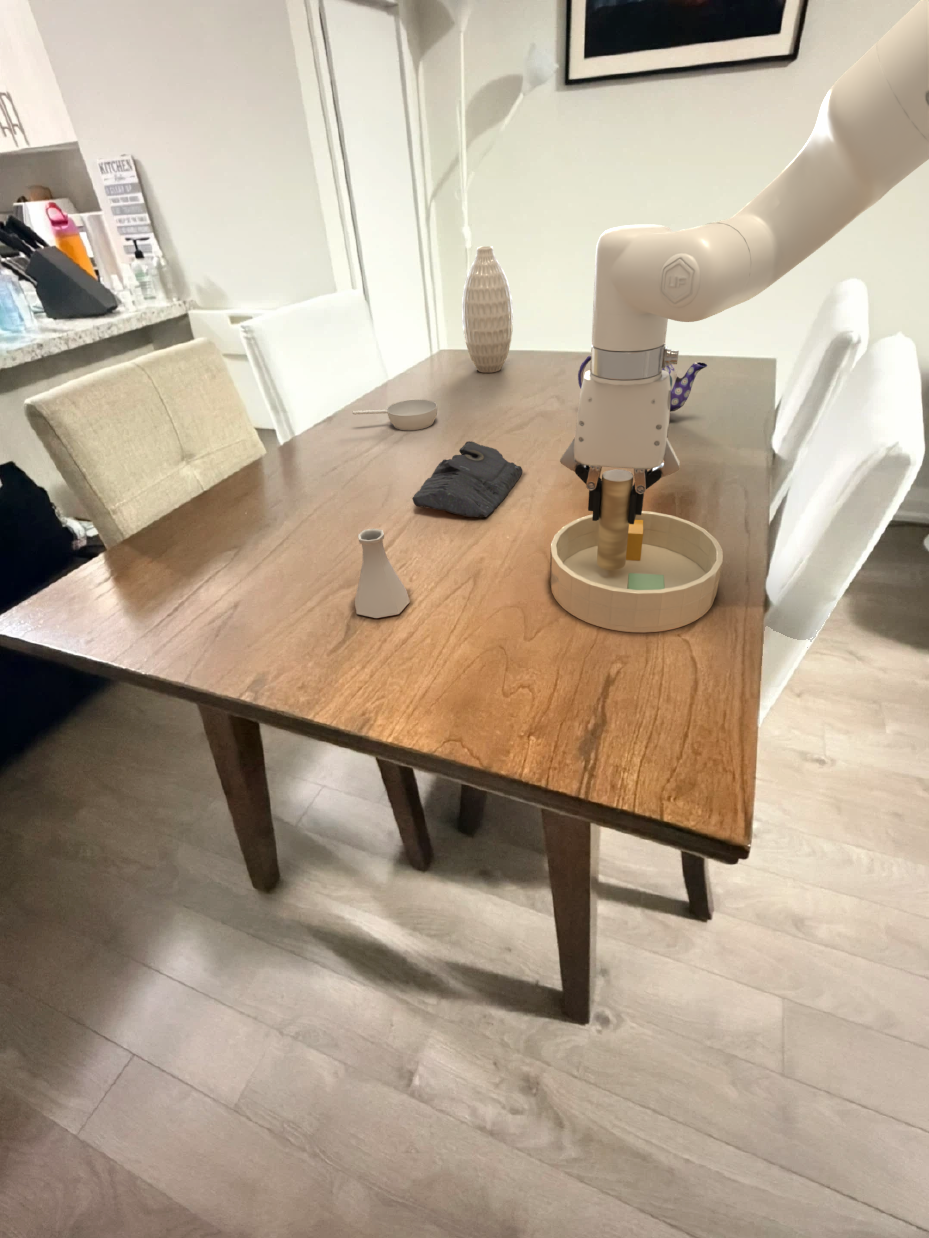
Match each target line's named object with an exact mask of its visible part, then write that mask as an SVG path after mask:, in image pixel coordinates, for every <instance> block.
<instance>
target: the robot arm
mask: <svg viewBox="0 0 929 1238" xmlns="http://www.w3.org/2000/svg"><path fill="white" fill-rule="evenodd" d="M927 161H929V0H918V2H917V3H915V4H914V5H913V6H912V7H911V8H910V9H909V10H908V11H907V12H906V13H905V14H904V15H903V16H902V17H901V18H899V20H898V21H896V23H895V24H894V25H892V27H891V28H890V29H889V30H888V31H886V32H885V33H884V34H883V35H882V36H881V37H880V38H879V39H878V40H877V41H876V42H875V43H874V44H873V45H872V46H870V48H869V49H868V50H867V51H866V52H865V53H864V54H863V55H862V56H860V57H859V58H858V59H857V60H856V61H855V62H854V63H853V64H852V65H850V67H848V69H846V70H845V71H844V73H842V74H841V75H840V76H839V77H838V79H836V80H835V81H834V83H833V84H832V85H831V87H830V88H829V90H828V91H827V93H826V95H825V96H824V99H823V101H822V103H821V105H820V107H819V112H818V116H817V119H816V122H815V125H814V128H813V130H812V132H811V134H810V136H809V138H808V140H807V141H806V142H805V143H804V146H803V147H802V148H801V150H800V151H799V152H798V153H797V155H796V156H795V157H794V158H793V159H792V160H791V161H790V162H789V164H788V165H786V167H785V168H784V169H783V170H782V171H781V172H780V173H779V174H778V175H777V176H776V177H774V179H773V180H771V182H770V183H768V184H767V185H766V186H765V187H764V188H763V189H762V190H761V191H760V192H759V193H757V195H755V196H754V197H753V198H752V199H751V200H750V201H749V202H748V203H746V204H745V205H744V206H743V207H742V208H741V209H740V210H738V211H737V212H736V213H735V214H734V215H732V216H731V217H729V218H725V219H721V220H717V221H716V220H715V221H712V222H708V223H706V224H702V225H698V226H695V227H694V226H693V227H689V228H684V229H680V230H672V229H671V228H670V227H669V226H666V225H663V224H662V225H661V224H652V223H651V224H649V223H648V224H628V225H621V226H615V227H611V228H609V229H606V230H605V231H604V232H602V233H601V234H600V236H599V238H598V240H597V242H596V247H595V260H594V280H593V281H594V284H593V303H592V325H591V345H590V355H591V360H590V367H589V368H590V369H589V370H587V371H585V372H584V374H583V383H582V387H581V389H580V393H579V397H578V405H577V411H576V412H577V413H576V420H575V421H576V422H575V430H574V437H573V439H572V440H571V442H570V443H569V444H568V446H567V447H566V449H565V450H564V452H563V453H562V455H561V457H560V459H559V462H560V464H561V465H562V466H564V467H566V468H567V469H568V470H570V471H572V472H574V473H575V475H576V476H577V477H578V479H580V480H581V481H582V483H584V484H585V488H586V489H587V490H588V504H587V511H588V512H592V514H593V518H592V521H597V520H599V518H600V504H601V486H602V477H601V474H602V470H603V467H604V468H616V469H617V468H618V469H633V480H634V481H633V487H632V491H631V494H630V503H629V514H628V523H629V524H634V521H635V517H636V515H641V514H642V511H643V507H644V506H643V505H644V497H645V496H644V495H645V493H646V491H647V490H648V489H649V488H650V487H652V486H653V485H654V484H656V483H657V482H659V480H661V479H662V478H665V477H667V476H669V475H672V474H674V473H676V472H678V471H679V470H680V466H681V462H680V459H679V458H678V456H677V453H676V452H675V450H674V447H673V446H672V444H671V442H670V440H669V430H670V429H669V428H670V413H671V412H670V378H669V373H668V372H667V371H664V370H662V369H663V368H665V366H669V365H670V364H672V365H678V360H679V354H680V353H679V350H672V348H669V346H666V340H667V330H668V321H669V320H671V321H675V322H679V323H680V322H681V323H683V322H684V323H694V322H699V321H704V320H706V319H709V318H710V317H713V316H716V315H718V314H720V313H722V312H724V311H726V310H728V309H730V308H733V307H735V306H738V305H740V304H742V303H746V302H747V301H749V300H751V299H753V298H755V297H757V296H758V295H759V294H761V293H763V291H765V290H767V289H768V288H770V286H772V285H773V284H775V283H776V282H777V281H779V280H780V279H781V278H783V277H784V276H785V275H787V274H788V273H789V272H790V271H792V270H793V269H794V268H795V267H797V266H798V265H800V264H801V263H802V262H804V261H805V260H806V259H807V258H809V257H811V255H813V254H814V253H815V252H816V251H817V250H819V249H820V248H821V247H823V246H825V244H826V243H828V242H829V241H831V240H832V239H833V238H834V237H835V236H836V235H837V234H839V233H840V232H841V231H842V230H843V229H844V228H846V227H847V226H848V225H849V224H851V223H852V222H853V221H854V220H855V219H856V218H858V217H859V216H860V215H862V214H863V213H864V212H865V211H867V210H868V209H870V208H871V207H872V206H874V205H875V204H877V203H878V202H879V200H881V199H882V198H883V197H884V196H885V195H887V194H888V192H890V191H891V190H892V189H893V188H895V186H897V185H898V184H899V183H901V182H902V181H903V180H904V179H905V178H907V177H908V176H909V175H911V174H912V173H914V171H916V170H917V169H918V168H920V167H921V166H922V165H923V164H925V163H926V162H927Z"/></svg>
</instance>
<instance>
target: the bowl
mask: <svg viewBox="0 0 929 1238" xmlns="http://www.w3.org/2000/svg"><path fill="white" fill-rule="evenodd" d="M592 518H593V513H592V514H589V515H586V516H583V517H579V518H576V519H575V520H573V521H570V522H569V523H567V524H565V525H564V526H563V527H561V529H559V530H558V531H557V532H556V533H555V534H554V536H553V539H552V541H551V543H550V557H549V561H550V562H549V565H550V566H549V567H550V569H549V576H550V577H549V579H550V589H551V593H552V595H553V598H554V599H555V601H556V602H557V603H558V604H559V605H560V607H562V608H563V609H564V610H565V611H566V612H567V613H569V614H570V615H572V616H573V617H575V618H577V619H579V620H581V621H583V622H585V623H588V624H590V625H593V626H595V627H599V628H602V629H607V630H611V631H618V632H624V633H625V632H626V633H643V634H644V633H659V632H665V631H670V630H675V629H678V628H681V627H685V626H687V625H689V624H691V623H694V622H696V621H697V620H699V619H700V618H702V617H704V615H706V614H707V613H708V612H709V610H710V609H711V608H712V606H713V605H714V602H715V599H716V596H717V593H718V587H719V582H720V577H721V572H722V568H723V563H724V560H723V559H724V558H723V557H724V550H723V548H722V546H721V545H720V543H719V541H718V539H717V538H716V537H715V536H714V535H712V534H711V533H710V532H709V531H707V530H706V529H705V528H703V527H701V526H699V525H698V524H696V523H694V522H692V521H689V520H687V519H685V518H681V517H678V516H675V515H671V514H666V513H661V512H657V511H648V510H642V514H641V515H636V517H635V520H643V541H642V550H641V559H640V561H638V560H626V562H625V566H624V567H623V568H621V569H618V570H606V569H603V568H601V567H599V566H598V565H597V550H598V534H599V520H597V521H592ZM629 573H637V574H655V575H664V585H665V589H660V590H632V589H627V585H628V575H629Z"/></svg>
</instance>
